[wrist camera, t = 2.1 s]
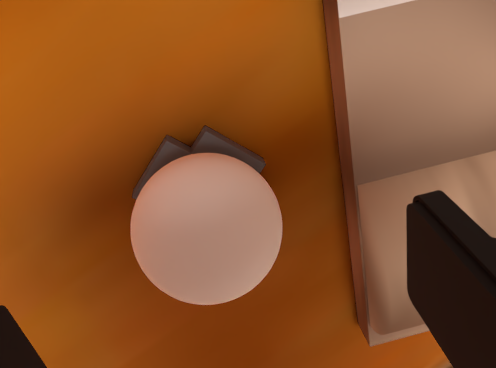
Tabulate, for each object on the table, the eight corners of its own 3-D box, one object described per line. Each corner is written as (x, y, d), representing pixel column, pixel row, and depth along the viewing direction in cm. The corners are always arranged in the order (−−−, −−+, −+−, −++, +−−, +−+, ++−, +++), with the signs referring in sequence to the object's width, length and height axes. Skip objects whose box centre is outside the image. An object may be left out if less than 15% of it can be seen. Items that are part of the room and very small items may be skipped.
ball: (262, 244, 18) (290, 334, 14) (140, 248, 17) (128, 345, 13) (272, 131, 16) (309, 195, 12) (133, 130, 15) (115, 199, 11)
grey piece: (283, 169, 17) (287, 176, 17) (221, 255, 19) (223, 263, 18) (180, 111, 15) (180, 116, 15) (121, 210, 17) (119, 218, 16)
